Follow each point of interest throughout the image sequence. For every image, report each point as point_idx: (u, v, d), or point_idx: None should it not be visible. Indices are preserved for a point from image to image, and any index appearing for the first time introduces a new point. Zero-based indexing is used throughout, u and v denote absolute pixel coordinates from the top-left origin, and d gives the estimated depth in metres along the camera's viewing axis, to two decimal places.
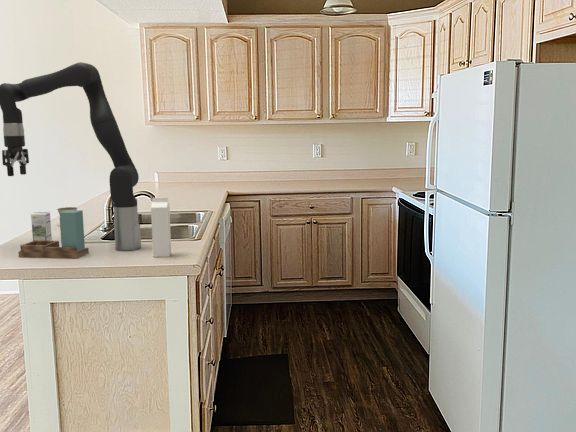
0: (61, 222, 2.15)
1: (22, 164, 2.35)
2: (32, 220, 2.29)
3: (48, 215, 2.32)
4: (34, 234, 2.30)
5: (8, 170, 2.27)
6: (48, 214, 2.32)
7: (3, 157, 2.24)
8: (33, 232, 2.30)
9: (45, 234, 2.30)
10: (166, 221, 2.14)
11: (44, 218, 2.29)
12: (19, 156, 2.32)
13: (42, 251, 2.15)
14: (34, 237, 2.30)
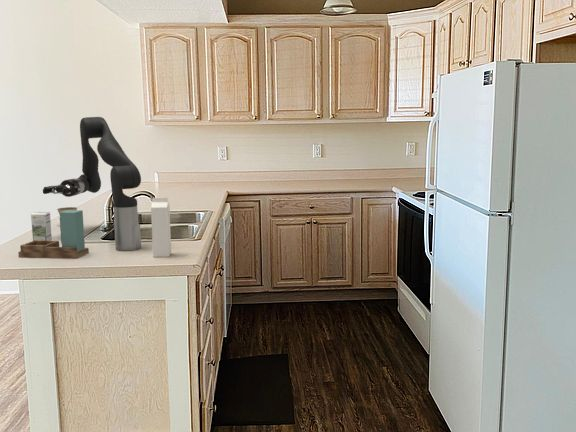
0: (61, 222, 2.15)
1: None
2: (32, 220, 2.29)
3: (48, 215, 2.32)
4: (34, 234, 2.30)
5: None
6: (48, 214, 2.32)
7: None
8: (33, 232, 2.30)
9: (45, 234, 2.30)
10: (166, 221, 2.14)
11: (44, 218, 2.29)
12: (64, 187, 2.48)
13: (42, 251, 2.15)
14: (34, 237, 2.30)
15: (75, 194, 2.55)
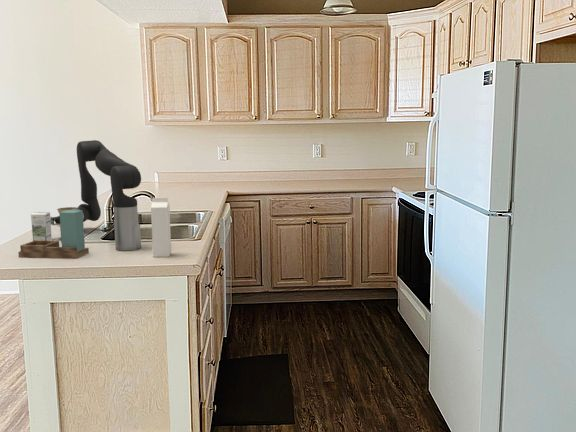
0: (61, 222, 2.15)
1: None
2: (32, 220, 2.29)
3: (48, 215, 2.32)
4: (34, 234, 2.30)
5: None
6: (48, 214, 2.32)
7: None
8: (33, 232, 2.30)
9: (45, 234, 2.30)
10: (166, 221, 2.14)
11: (44, 218, 2.29)
12: None
13: (42, 251, 2.15)
14: (34, 237, 2.30)
15: None
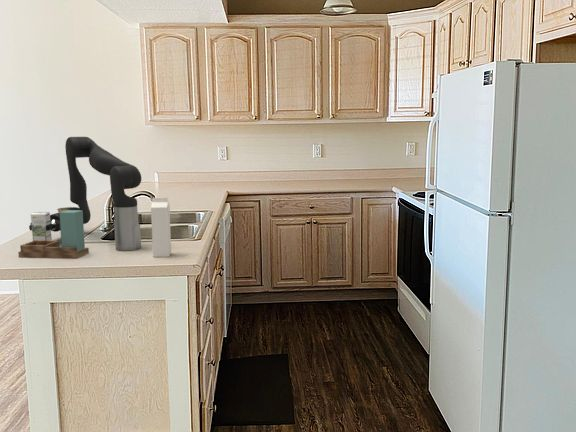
0: (61, 222, 2.15)
1: None
2: (32, 220, 2.29)
3: (48, 215, 2.32)
4: (34, 234, 2.30)
5: None
6: (48, 214, 2.32)
7: None
8: (33, 232, 2.30)
9: (45, 234, 2.30)
10: (166, 221, 2.14)
11: (44, 218, 2.29)
12: None
13: (42, 251, 2.15)
14: (34, 237, 2.30)
15: None
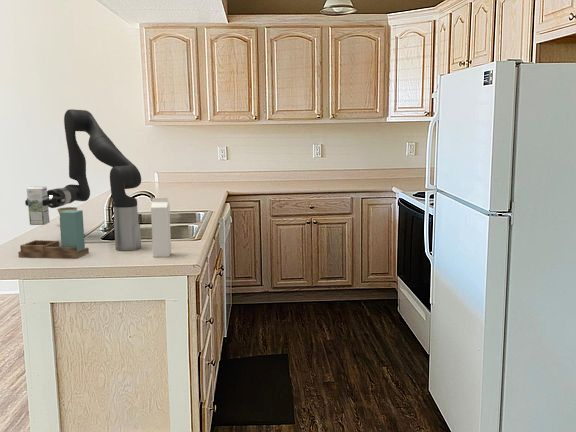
0: (61, 222, 2.15)
1: None
2: (28, 195, 2.19)
3: (45, 190, 2.23)
4: (30, 209, 2.20)
5: None
6: (45, 189, 2.23)
7: None
8: (29, 207, 2.20)
9: (42, 209, 2.20)
10: (166, 221, 2.14)
11: (40, 192, 2.19)
12: None
13: (42, 251, 2.15)
14: (30, 212, 2.20)
15: (60, 205, 2.35)
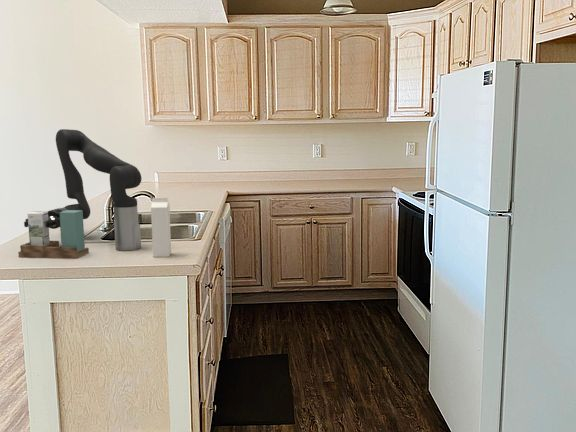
0: (61, 222, 2.15)
1: None
2: (29, 220, 2.17)
3: (46, 214, 2.20)
4: (31, 234, 2.17)
5: None
6: (46, 213, 2.20)
7: None
8: (30, 232, 2.17)
9: (42, 234, 2.17)
10: (166, 221, 2.14)
11: (41, 217, 2.17)
12: (48, 218, 2.25)
13: (42, 251, 2.15)
14: (31, 238, 2.18)
15: None
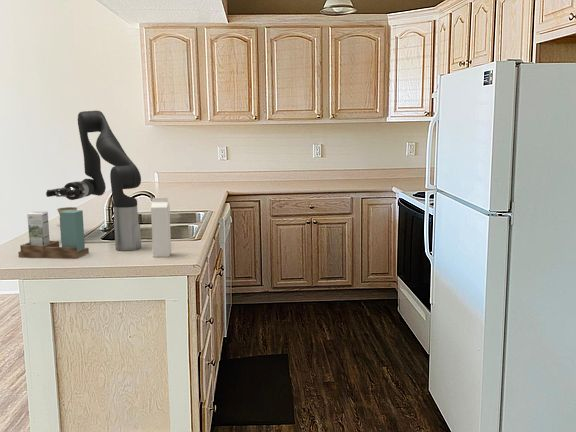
0: (61, 222, 2.15)
1: None
2: (28, 220, 2.16)
3: (46, 215, 2.20)
4: (31, 235, 2.17)
5: None
6: (46, 214, 2.20)
7: None
8: (30, 233, 2.17)
9: (42, 235, 2.17)
10: (166, 221, 2.14)
11: (41, 218, 2.16)
12: (68, 189, 2.41)
13: (42, 251, 2.15)
14: (31, 238, 2.17)
15: (79, 197, 2.47)
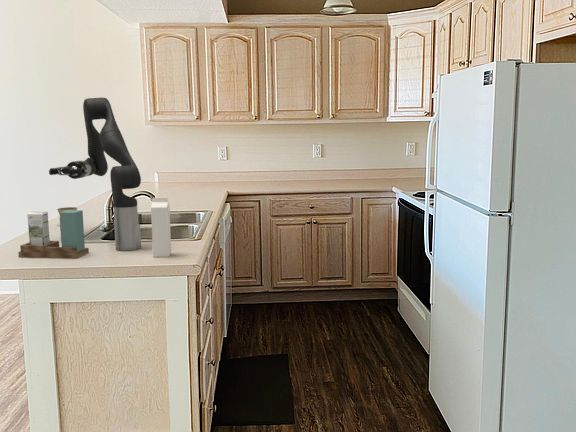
0: (61, 222, 2.15)
1: None
2: (28, 220, 2.16)
3: (46, 215, 2.20)
4: (31, 235, 2.17)
5: None
6: (46, 214, 2.20)
7: None
8: (30, 233, 2.17)
9: (42, 235, 2.17)
10: (166, 221, 2.14)
11: (41, 218, 2.16)
12: (70, 168, 2.43)
13: (42, 251, 2.15)
14: (31, 238, 2.17)
15: (82, 176, 2.50)
